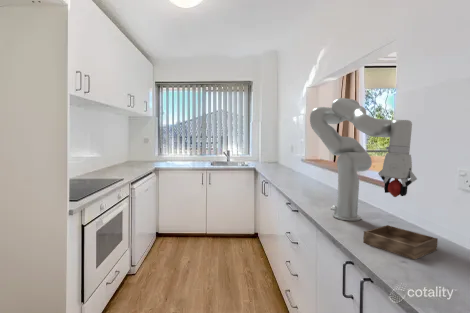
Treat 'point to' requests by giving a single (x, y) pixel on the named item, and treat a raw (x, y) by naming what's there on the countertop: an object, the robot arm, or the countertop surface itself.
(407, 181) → the robot arm
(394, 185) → the onion
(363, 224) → the countertop surface
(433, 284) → the countertop surface
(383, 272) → the countertop surface
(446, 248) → the countertop surface
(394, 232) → the holder tray
